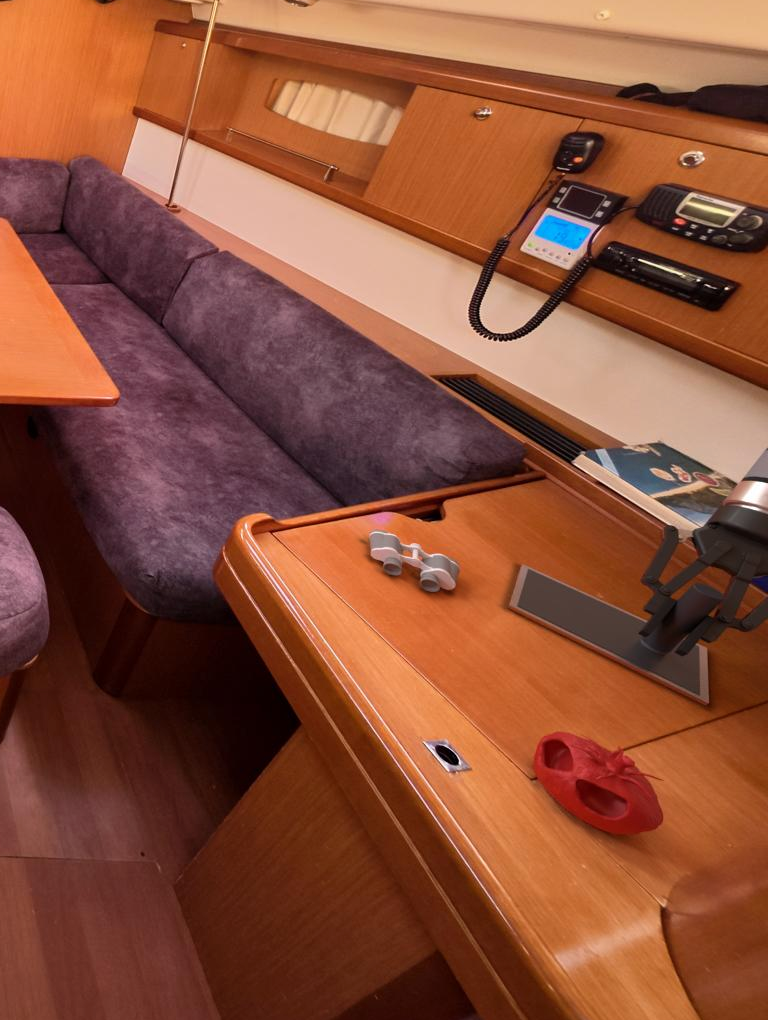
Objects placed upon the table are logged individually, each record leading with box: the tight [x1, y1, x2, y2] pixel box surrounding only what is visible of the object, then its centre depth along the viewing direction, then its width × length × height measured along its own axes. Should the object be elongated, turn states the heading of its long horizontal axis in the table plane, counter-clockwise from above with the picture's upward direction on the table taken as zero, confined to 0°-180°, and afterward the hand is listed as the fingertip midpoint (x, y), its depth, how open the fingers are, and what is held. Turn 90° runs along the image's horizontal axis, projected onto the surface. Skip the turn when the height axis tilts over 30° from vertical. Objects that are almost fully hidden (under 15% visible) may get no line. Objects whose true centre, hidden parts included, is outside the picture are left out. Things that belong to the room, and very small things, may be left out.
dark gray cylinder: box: [640, 582, 725, 655], centre depth 91 cm, size 3×3×13 cm
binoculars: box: [368, 529, 461, 593], centre depth 107 cm, size 12×8×4 cm, turn 47°
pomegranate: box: [532, 730, 665, 835], centre depth 74 cm, size 10×10×9 cm
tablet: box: [507, 563, 710, 707], centre depth 98 cm, size 20×14×1 cm
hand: (662, 643), depth 91 cm, fingers closed on dark gray cylinder, 3 cm apart
